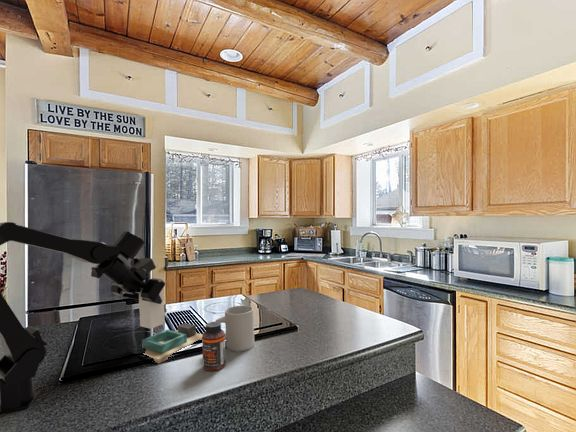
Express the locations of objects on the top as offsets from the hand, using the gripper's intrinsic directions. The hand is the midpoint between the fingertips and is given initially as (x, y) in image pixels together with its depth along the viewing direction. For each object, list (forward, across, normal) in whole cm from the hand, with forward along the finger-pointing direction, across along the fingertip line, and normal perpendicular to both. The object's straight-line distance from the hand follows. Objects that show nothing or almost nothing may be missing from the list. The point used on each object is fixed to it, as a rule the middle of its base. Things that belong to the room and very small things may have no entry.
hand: (155, 301), depth 100 cm
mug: (+16, -23, +3) cm, 29 cm away
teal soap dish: (+10, -5, +9) cm, 14 cm away
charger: (+4, 0, +6) cm, 7 cm away
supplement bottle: (+8, -26, +11) cm, 30 cm away
